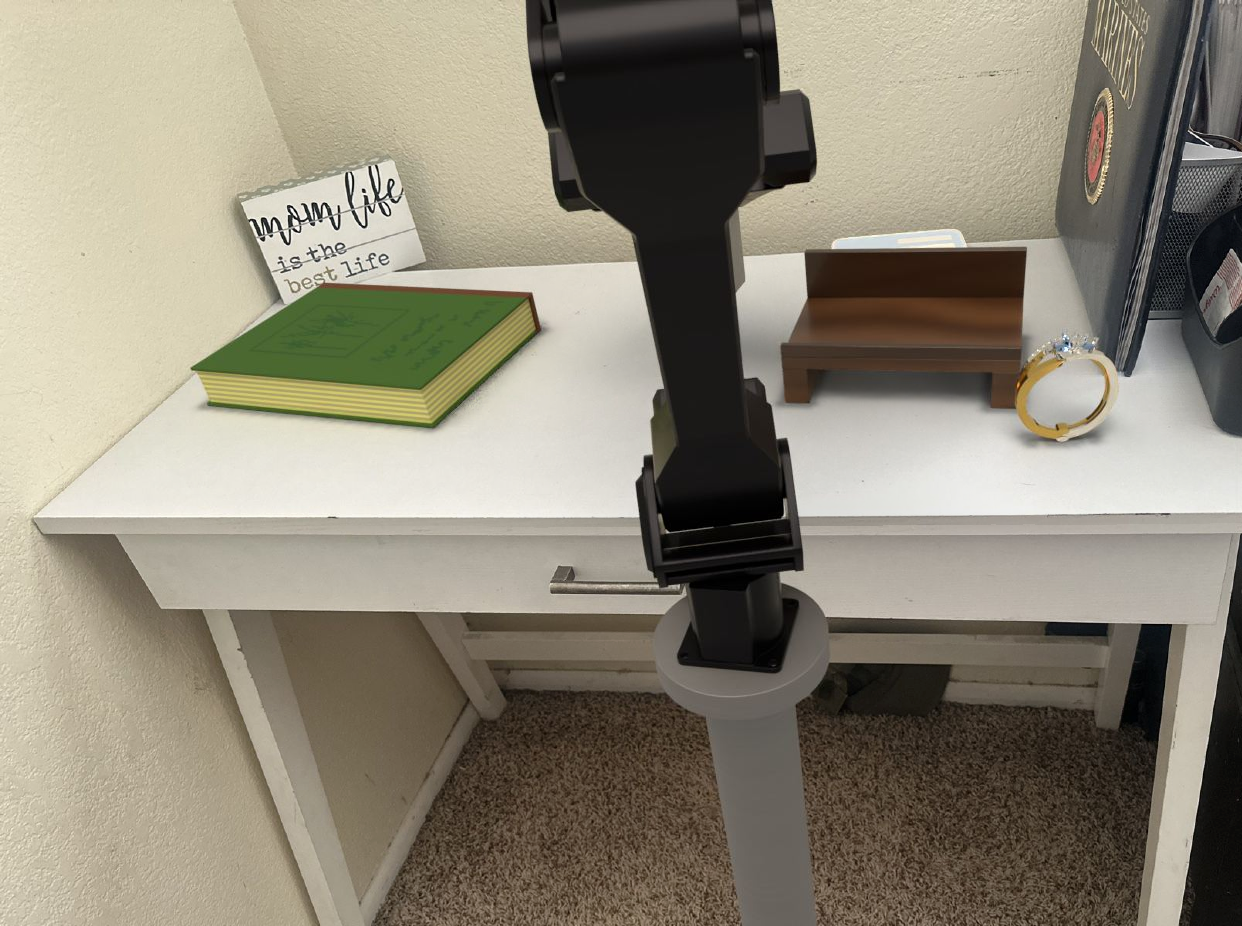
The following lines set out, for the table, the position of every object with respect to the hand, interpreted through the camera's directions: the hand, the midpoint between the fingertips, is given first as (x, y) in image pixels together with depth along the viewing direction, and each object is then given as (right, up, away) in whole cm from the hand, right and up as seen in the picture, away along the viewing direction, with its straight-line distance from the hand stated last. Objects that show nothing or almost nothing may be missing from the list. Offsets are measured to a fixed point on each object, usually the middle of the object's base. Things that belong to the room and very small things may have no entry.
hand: (691, 207), depth 81 cm
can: (+1, -6, +3) cm, 7 cm away
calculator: (+20, -2, +16) cm, 25 cm away
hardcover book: (-30, -10, +14) cm, 35 cm away
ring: (+27, -19, -8) cm, 34 cm away
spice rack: (+18, -12, +3) cm, 22 cm away
